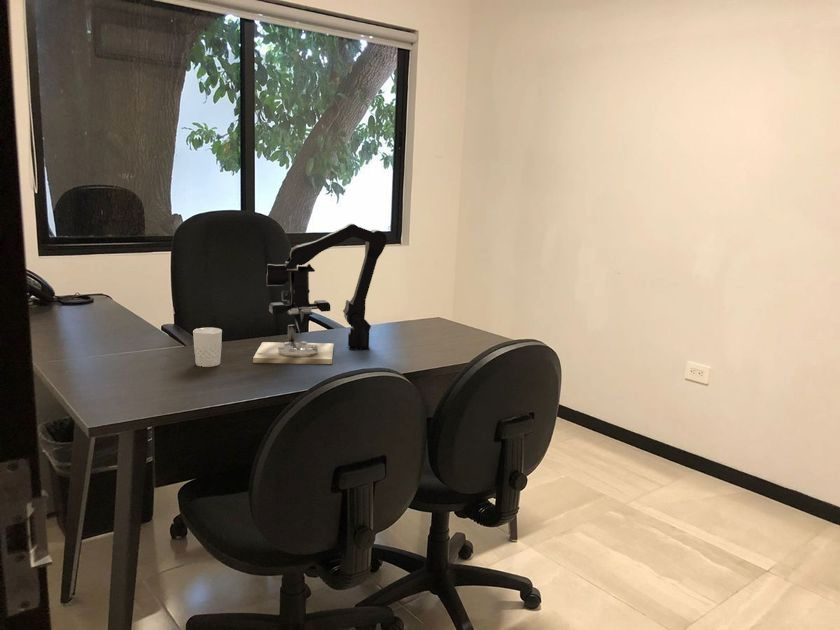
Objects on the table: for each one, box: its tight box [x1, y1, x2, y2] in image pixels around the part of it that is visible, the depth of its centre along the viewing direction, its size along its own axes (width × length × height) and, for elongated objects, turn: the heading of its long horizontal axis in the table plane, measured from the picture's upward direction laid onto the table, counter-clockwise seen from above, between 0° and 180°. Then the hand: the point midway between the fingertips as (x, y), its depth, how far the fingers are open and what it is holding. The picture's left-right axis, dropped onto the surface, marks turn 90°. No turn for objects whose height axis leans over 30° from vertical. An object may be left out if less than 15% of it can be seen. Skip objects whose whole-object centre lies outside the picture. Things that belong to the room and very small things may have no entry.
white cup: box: [192, 327, 223, 368], centre depth 186 cm, size 8×8×10 cm
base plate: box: [252, 341, 334, 365], centre depth 201 cm, size 23×20×2 cm
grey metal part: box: [278, 324, 318, 357], centre depth 201 cm, size 18×12×6 cm, turn 22°
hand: (300, 333), depth 209 cm, fingers closed
